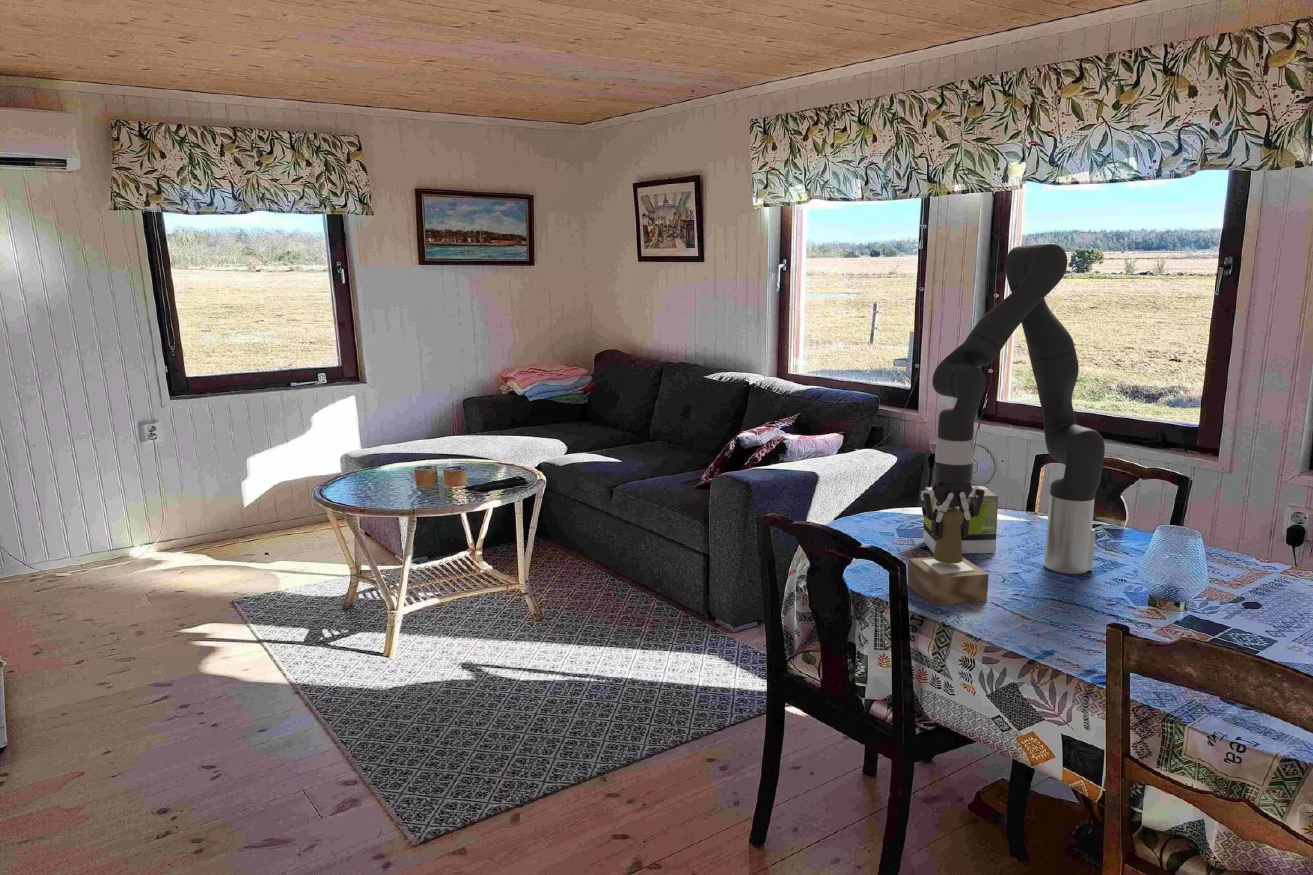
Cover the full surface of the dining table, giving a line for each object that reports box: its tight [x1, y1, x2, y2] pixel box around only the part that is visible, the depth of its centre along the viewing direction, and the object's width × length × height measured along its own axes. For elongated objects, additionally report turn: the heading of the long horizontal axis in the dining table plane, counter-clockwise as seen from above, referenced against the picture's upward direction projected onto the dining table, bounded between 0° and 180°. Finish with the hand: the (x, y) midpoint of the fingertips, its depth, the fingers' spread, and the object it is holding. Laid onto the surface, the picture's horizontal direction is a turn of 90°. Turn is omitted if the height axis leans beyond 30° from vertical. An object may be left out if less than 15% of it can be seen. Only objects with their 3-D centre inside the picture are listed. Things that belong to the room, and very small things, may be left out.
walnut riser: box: [907, 556, 990, 607], centre depth 188 cm, size 12×12×6 cm
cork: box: [932, 508, 964, 563], centre depth 186 cm, size 6×6×11 cm
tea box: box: [922, 485, 999, 555], centre depth 215 cm, size 15×10×15 cm, turn 89°
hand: (949, 536), depth 186 cm, fingers closed on cork, 5 cm apart
